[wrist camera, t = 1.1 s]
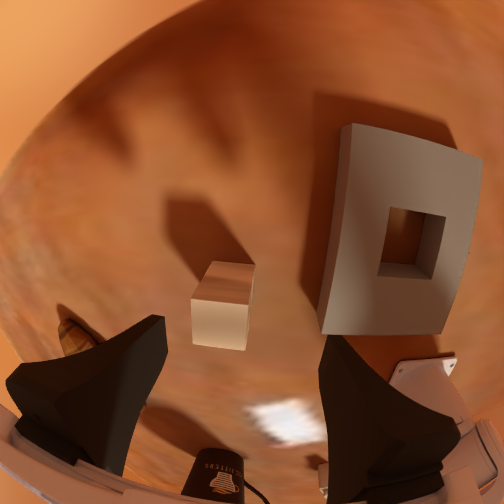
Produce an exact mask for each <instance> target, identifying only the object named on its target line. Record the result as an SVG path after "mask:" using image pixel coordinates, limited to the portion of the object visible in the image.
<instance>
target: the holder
mask: <svg viewBox="0 0 504 504" xmlns="http://www.w3.org/2000/svg"><path fill="white" fill-rule="evenodd" d="M482 168H483V159H480V158H478V157H475V156H473V155H470V154H467V153H464V152H462V151H459V150H456V149H453V148H450V147H447V146H444V145H441V144H438V143H435V142H431V141H428V140H425V139H421V138H418V137H414V136H410V135H407V134H403V133H399V132H395V131H391V130H386V129H382V128H377V127H373V126H368V125H363V124H358V123H350V124H348V125H346V126H344V127H341V133H340V147H339V159H338V169H337V179H336V189H335V198H334V206H333V214H332V222H331V229H330V236H329V243H328V249H327V256H326V262H325V268H324V274H323V280H322V285H321V291H320V296H319V301H318V306H317V312H316V313H317V317H318V322H319V326H320V330H321V334H332V335H429V334H441V333H442V330H443V328H444V325H445V323H446V320H447V318H448V315H449V312H450V310H451V307H452V304H453V301H454V299H455V296H456V293H457V290H458V287H459V283H460V280H461V277H462V274H463V270H464V267H465V263H466V259H467V255H468V252H469V247H470V243H471V239H472V234H473V230H474V225H475V219H476V214H477V208H478V202H479V195H480V187H481V179H482ZM390 207H394V208H400V209H406V210H412V211H418V212H423V213H425V218H424V224H423V229H422V234H421V239H420V244H419V248H418V252H417V257H416V261H415V265H411V264H400V263H389V262H380V260H381V255H382V251H383V246H384V241H385V235H386V230H387V224H388V218H389V212H390Z"/></svg>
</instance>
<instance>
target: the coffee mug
mask: <svg viewBox="0 0 504 504" xmlns="http://www.w3.org/2000/svg"><path fill="white" fill-rule="evenodd" d="M244 486H246V487H247V488H248V489H250V490H251V491H252V492H254V493H255V494H256V495H257V496H259V497H260V498H261V499H262V500H263V502H264V503H265V504H270V503H269V502H268V500H267V499H266V498H265V497H264V496H263V495H262V494H261V493H260V492H259V491H257V490H256V489H255V488H254V487H252V486H251V485H249V484H248V483H247V482H246V481H245V480H244V461H243V459H242V457H241V456H239V455H238V454H236V453H234V452H231V451H228V450H224V449H216V448H209V449H203V450H201V451H200V452H199V453H198V455H197V457H196V460H195V462H194V465H193V467H192V469H191V472H190V474H189V476H188V479H187V481H186V483H185V485H184V488H183V490H182V492H181V495H184V496H189V497H193V498H198V499H204V500H210V501H216V502H223V503H230V504H245V502H244Z"/></svg>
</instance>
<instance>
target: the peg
mask: <svg viewBox="0 0 504 504" xmlns="http://www.w3.org/2000/svg"><path fill="white" fill-rule="evenodd" d="M255 266H256V265H254V264H243V263H232V262H221V261H212V263H211V264H210V266H209V268H208V270H207V271H206V273H205V275H204V276H203V278H202V280H201V282H200V283H199V285H198V287H197V289H196V290H195V292H194V294H193V296H192V297H191V317H192V336H193V344H197V345H204V346H211V347H219V348H227V349H235V350H244V351H245V348H246V342H247V336H248V329H249V323H250V316H251V310H252V304H253V292H254V279H255Z"/></svg>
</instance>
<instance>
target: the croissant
mask: <svg viewBox="0 0 504 504" xmlns="http://www.w3.org/2000/svg"><path fill="white" fill-rule="evenodd" d="M58 333H59V339H60V343H61V346H62V349H63V352H64V355H65V357H66V356H69V355H73V354H76V353H79V352H82V351H85V350H87V349H90V348H92V347H95V346H97V345H98V344H97V342H96V341H95V340H94V338H93V337H92V336H91V335H90V334H88V333H87V332H86V331H85V330H84V329H83V328H82V327H81V326H80V325H78V324H77V323H76V322H74V321H73V320H71V319H70V318H68V319H65V320H63V321H62V322H61V323H60V325H59V327H58ZM145 408H146V402H145V403H144V405H143V407H142V410H141V412H143V411H144V410H145ZM141 412H140V413H141Z"/></svg>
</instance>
